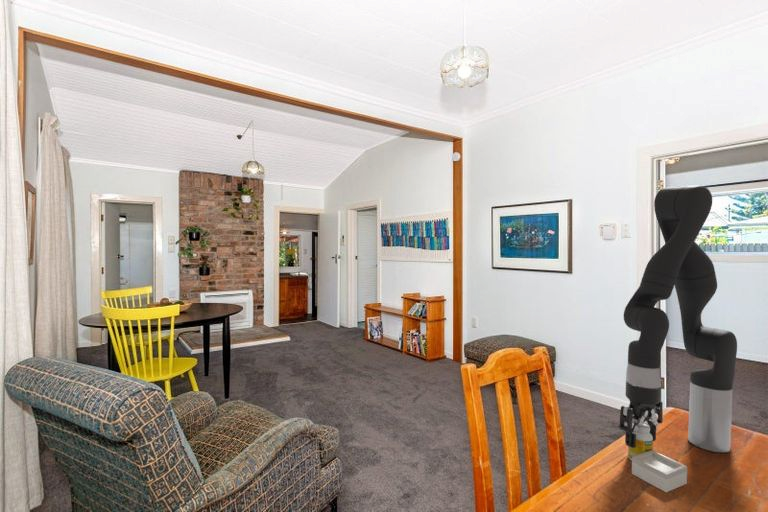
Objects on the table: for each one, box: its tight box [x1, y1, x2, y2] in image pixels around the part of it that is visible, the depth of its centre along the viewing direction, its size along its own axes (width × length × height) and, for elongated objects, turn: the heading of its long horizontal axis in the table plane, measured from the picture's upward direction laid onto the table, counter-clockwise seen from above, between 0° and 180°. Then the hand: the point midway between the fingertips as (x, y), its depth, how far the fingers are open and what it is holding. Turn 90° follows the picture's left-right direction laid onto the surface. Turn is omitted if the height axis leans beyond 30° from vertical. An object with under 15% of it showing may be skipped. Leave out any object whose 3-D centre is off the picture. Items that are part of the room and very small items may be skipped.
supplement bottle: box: [627, 421, 654, 462], centre depth 103 cm, size 5×5×10 cm
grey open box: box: [631, 450, 688, 493], centre depth 95 cm, size 8×8×4 cm
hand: (640, 443), depth 102 cm, fingers open, 8 cm apart
